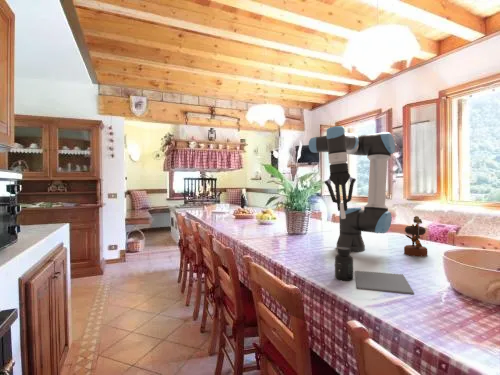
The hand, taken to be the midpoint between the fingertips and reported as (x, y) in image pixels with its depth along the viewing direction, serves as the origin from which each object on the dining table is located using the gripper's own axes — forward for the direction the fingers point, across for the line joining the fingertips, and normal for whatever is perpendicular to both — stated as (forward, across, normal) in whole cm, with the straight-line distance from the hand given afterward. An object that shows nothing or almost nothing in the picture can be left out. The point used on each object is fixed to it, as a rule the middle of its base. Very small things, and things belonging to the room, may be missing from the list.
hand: (343, 218), depth 123 cm
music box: (+27, +27, +44) cm, 57 cm away
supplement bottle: (+22, 0, -12) cm, 25 cm away
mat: (+23, +13, -10) cm, 28 cm away
